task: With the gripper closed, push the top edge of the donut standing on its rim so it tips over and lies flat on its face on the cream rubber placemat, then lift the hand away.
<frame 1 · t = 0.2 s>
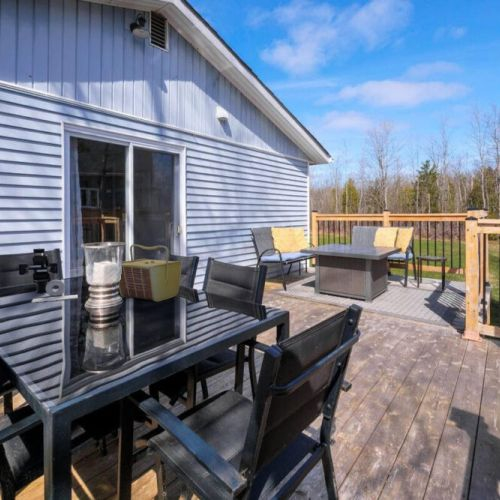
hand: (37, 271, 185), 16 cm above the table, tool horizontal, fingers open, 9 cm apart
picnic basket: (150, 297, 195), on the table
placemat: (55, 299, 189), on the table
donut: (56, 297, 195), on the table
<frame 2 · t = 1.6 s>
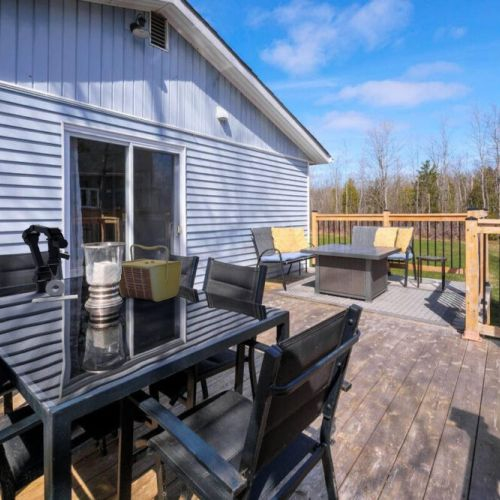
hand: (55, 274, 199), 12 cm above the table, tool pointing down, fingers open, 8 cm apart
nothing on the table moved.
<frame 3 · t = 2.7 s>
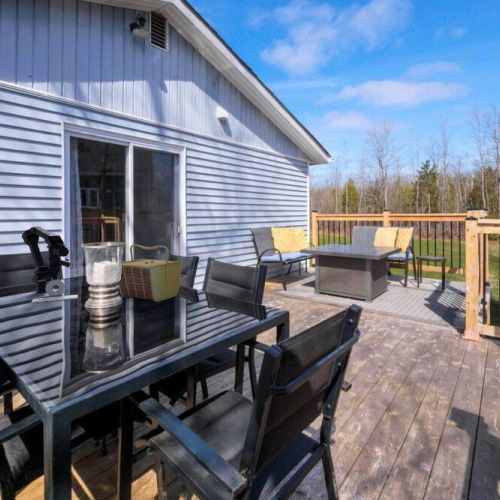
hand: (55, 281, 200), 8 cm above the table, tool pointing down, fingers closed
nothing on the table moved.
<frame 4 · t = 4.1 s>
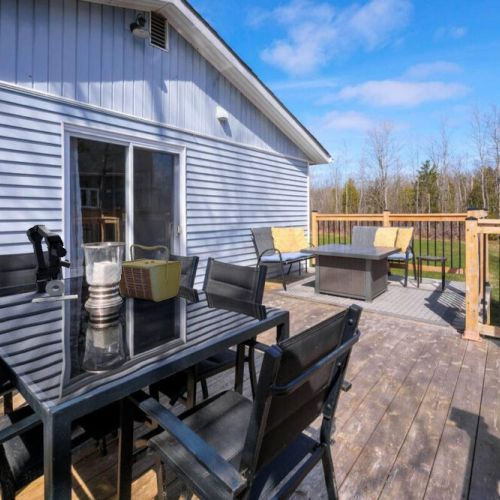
hand: (55, 283, 196), 8 cm above the table, tool pointing down, fingers closed
donut: (56, 296, 195), on the table, touching gripper
everything else where it was.
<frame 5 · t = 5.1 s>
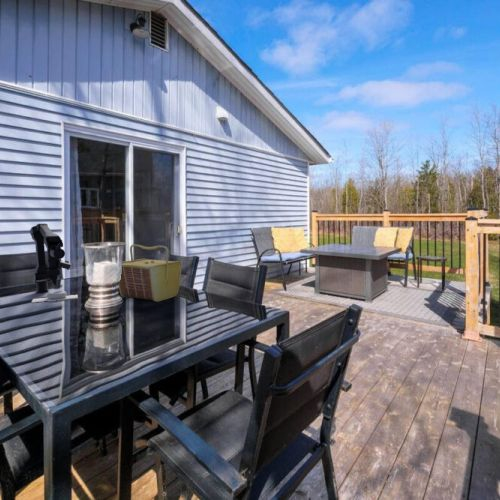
hand: (55, 285, 191), 8 cm above the table, tool pointing down, fingers closed
donut: (55, 293, 194), point 2 cm above the table, touching placemat
everything else where it was.
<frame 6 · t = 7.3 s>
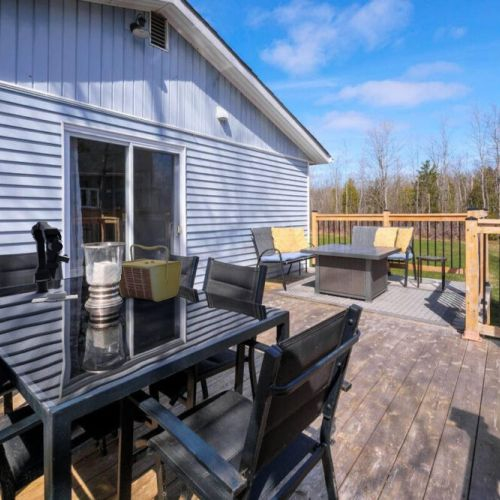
hand: (53, 278, 188), 12 cm above the table, tool pointing down, fingers closed
nothing on the table moved.
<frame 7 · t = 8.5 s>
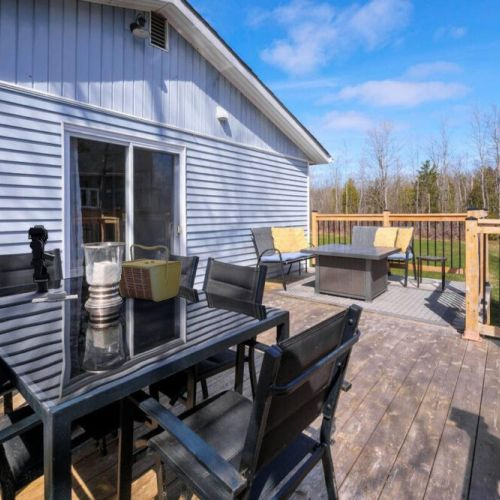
hand: (39, 276, 195), 12 cm above the table, tool pointing down, fingers closed
nothing on the table moved.
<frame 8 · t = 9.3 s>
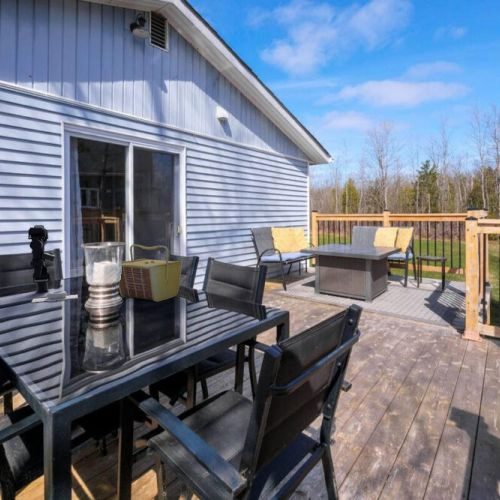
hand: (39, 276, 195), 12 cm above the table, tool pointing down, fingers closed
nothing on the table moved.
at the end: donut tilted 91°; donut touching placemat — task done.
